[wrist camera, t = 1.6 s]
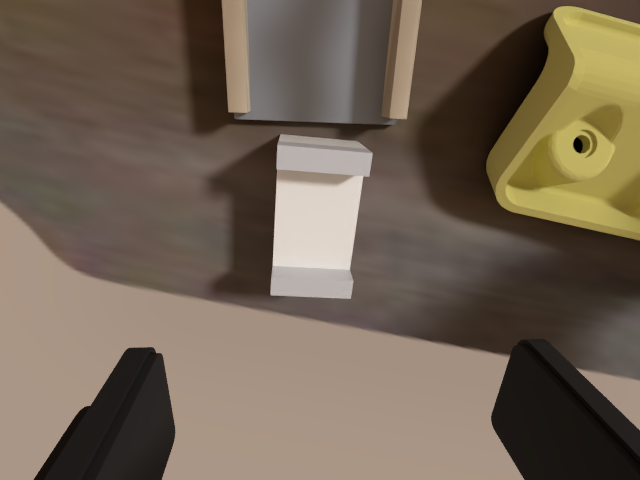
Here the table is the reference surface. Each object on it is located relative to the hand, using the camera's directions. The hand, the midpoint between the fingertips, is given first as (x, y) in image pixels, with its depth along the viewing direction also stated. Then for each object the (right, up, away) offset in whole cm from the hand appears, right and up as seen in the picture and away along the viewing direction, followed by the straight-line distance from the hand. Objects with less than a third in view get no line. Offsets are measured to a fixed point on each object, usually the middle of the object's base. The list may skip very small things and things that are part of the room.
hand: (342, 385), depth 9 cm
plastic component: (+20, +11, +15) cm, 27 cm away
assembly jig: (-1, +16, +11) cm, 20 cm away
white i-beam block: (-1, +6, +15) cm, 17 cm away
